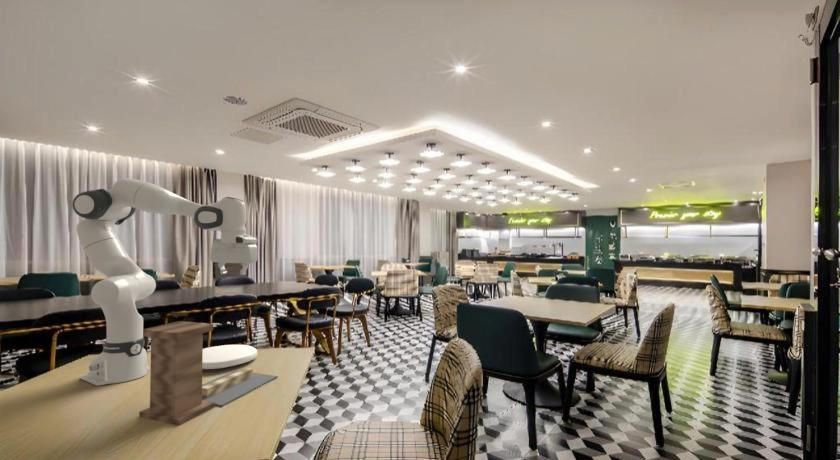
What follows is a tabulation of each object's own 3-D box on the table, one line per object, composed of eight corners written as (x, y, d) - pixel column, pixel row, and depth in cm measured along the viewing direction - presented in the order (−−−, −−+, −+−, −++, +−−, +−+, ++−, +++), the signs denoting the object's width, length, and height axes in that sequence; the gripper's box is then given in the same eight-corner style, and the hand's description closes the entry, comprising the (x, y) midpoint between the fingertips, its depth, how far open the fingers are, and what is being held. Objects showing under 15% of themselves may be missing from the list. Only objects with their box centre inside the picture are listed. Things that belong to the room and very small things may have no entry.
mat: (174, 398, 125) (174, 396, 125) (235, 371, 149) (235, 370, 149) (222, 406, 118) (222, 404, 118) (277, 377, 143) (277, 376, 143)
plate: (219, 340, 177) (270, 344, 172) (218, 355, 176) (269, 359, 171) (169, 352, 150) (227, 357, 144) (167, 369, 149) (226, 374, 144)
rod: (207, 398, 123) (207, 388, 123) (200, 396, 124) (200, 387, 124) (252, 376, 142) (252, 368, 142) (246, 375, 143) (246, 367, 143)
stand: (139, 416, 112) (140, 329, 112) (176, 400, 123) (177, 320, 124) (179, 425, 107) (180, 333, 107) (214, 407, 118) (215, 324, 119)
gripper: (206, 238, 146) (205, 274, 146) (248, 239, 140) (247, 276, 139) (219, 238, 152) (219, 272, 152) (260, 239, 146) (260, 274, 145)
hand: (233, 274), depth 146 cm, fingers open, 8 cm apart
